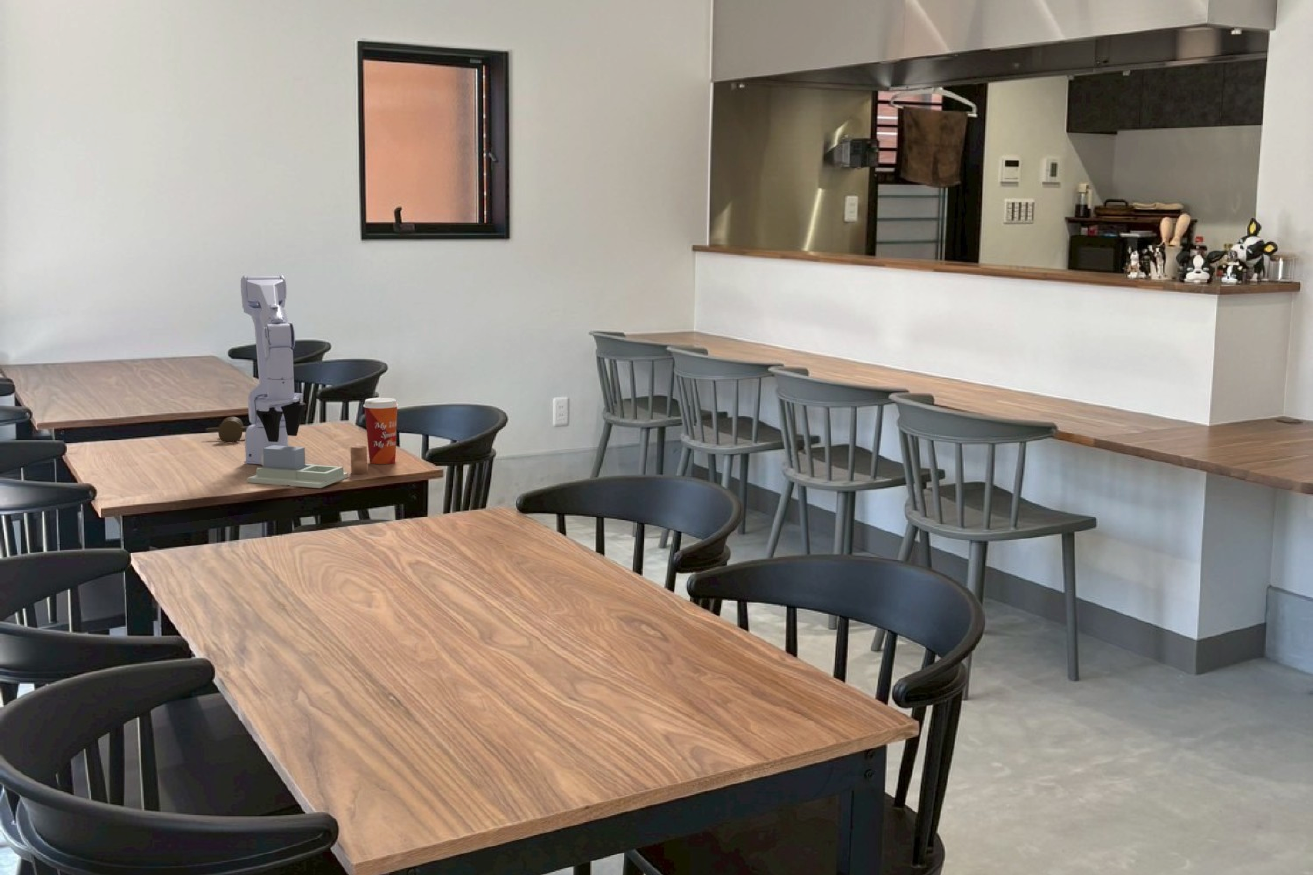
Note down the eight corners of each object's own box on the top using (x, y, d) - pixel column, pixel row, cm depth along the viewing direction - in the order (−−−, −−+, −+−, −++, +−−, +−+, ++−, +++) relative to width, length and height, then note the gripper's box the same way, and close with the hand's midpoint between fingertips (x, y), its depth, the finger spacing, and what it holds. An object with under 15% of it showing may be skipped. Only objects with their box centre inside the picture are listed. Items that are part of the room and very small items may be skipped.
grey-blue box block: (260, 474, 286) (259, 448, 285) (270, 470, 289) (269, 444, 288) (295, 477, 283) (294, 450, 282) (305, 473, 287) (304, 447, 286)
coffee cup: (380, 466, 300) (378, 403, 297) (357, 462, 305) (355, 400, 302) (407, 461, 307) (406, 399, 304) (384, 457, 312) (383, 396, 309)
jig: (247, 482, 282) (246, 469, 282) (278, 471, 293) (277, 459, 293) (320, 488, 277) (320, 475, 277) (349, 477, 289) (348, 465, 288)
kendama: (285, 443, 331) (204, 443, 326) (286, 437, 341) (207, 438, 335) (285, 420, 330) (203, 420, 325) (286, 415, 340) (206, 415, 335)
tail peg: (348, 473, 292) (347, 448, 291) (356, 470, 295) (355, 445, 294) (362, 475, 291) (361, 449, 290) (370, 471, 294) (369, 446, 293)
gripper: (277, 383, 274) (280, 445, 277) (313, 374, 288) (316, 434, 290) (249, 381, 276) (252, 443, 279) (286, 373, 290) (288, 432, 292)
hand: (282, 438), depth 285 cm, fingers open, 7 cm apart
